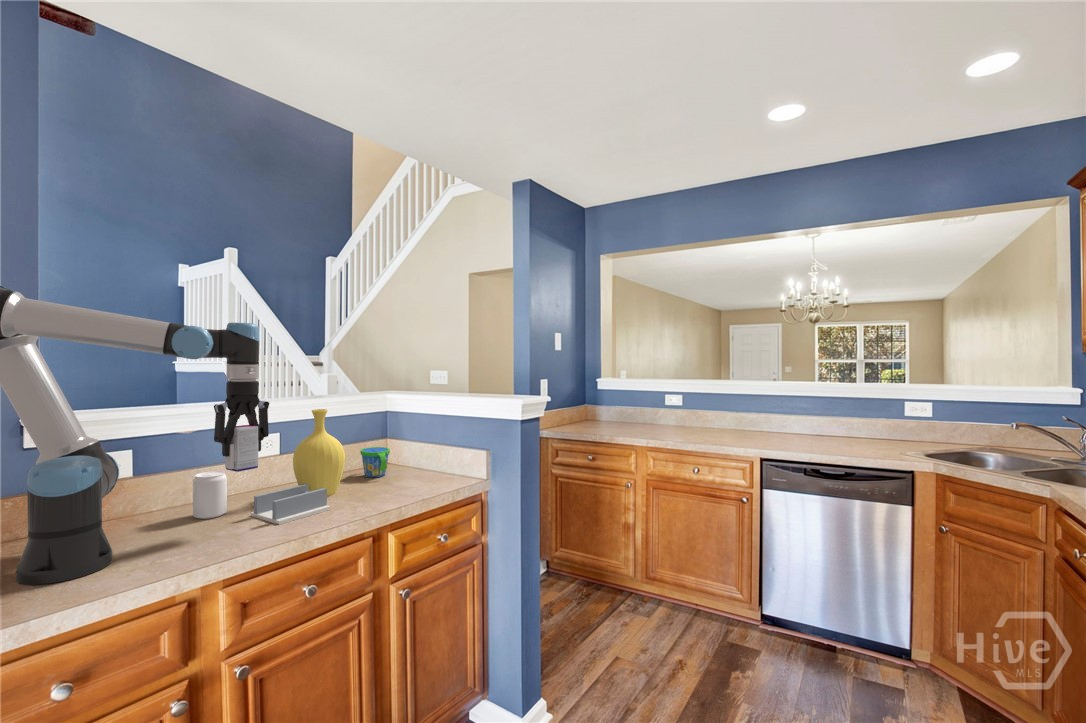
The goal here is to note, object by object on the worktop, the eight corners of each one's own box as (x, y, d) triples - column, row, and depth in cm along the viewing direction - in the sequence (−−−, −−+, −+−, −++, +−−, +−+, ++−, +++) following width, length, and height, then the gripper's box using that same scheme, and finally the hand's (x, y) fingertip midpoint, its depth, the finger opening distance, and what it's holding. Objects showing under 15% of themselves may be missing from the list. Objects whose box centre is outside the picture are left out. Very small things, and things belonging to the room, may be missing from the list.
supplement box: (259, 467, 138) (258, 425, 138) (236, 472, 133) (236, 428, 133) (247, 465, 141) (247, 424, 141) (224, 469, 136) (224, 426, 136)
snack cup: (395, 478, 191) (395, 451, 191) (367, 482, 185) (367, 454, 185) (382, 470, 204) (382, 444, 204) (355, 473, 198) (355, 447, 198)
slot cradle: (279, 524, 139) (279, 502, 139) (250, 515, 146) (250, 495, 146) (330, 509, 153) (330, 489, 153) (301, 502, 160) (301, 483, 160)
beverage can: (210, 521, 141) (210, 478, 141) (185, 518, 143) (185, 476, 143) (233, 512, 149) (233, 471, 149) (210, 510, 151) (210, 470, 151)
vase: (350, 495, 167) (350, 411, 167) (296, 503, 158) (296, 413, 158) (339, 484, 181) (339, 406, 180) (289, 491, 172) (289, 408, 171)
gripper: (212, 382, 127) (211, 474, 127) (284, 379, 143) (283, 461, 143) (197, 380, 131) (196, 470, 131) (268, 378, 147) (268, 458, 147)
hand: (242, 465), depth 137 cm, fingers closed on supplement box, 6 cm apart
